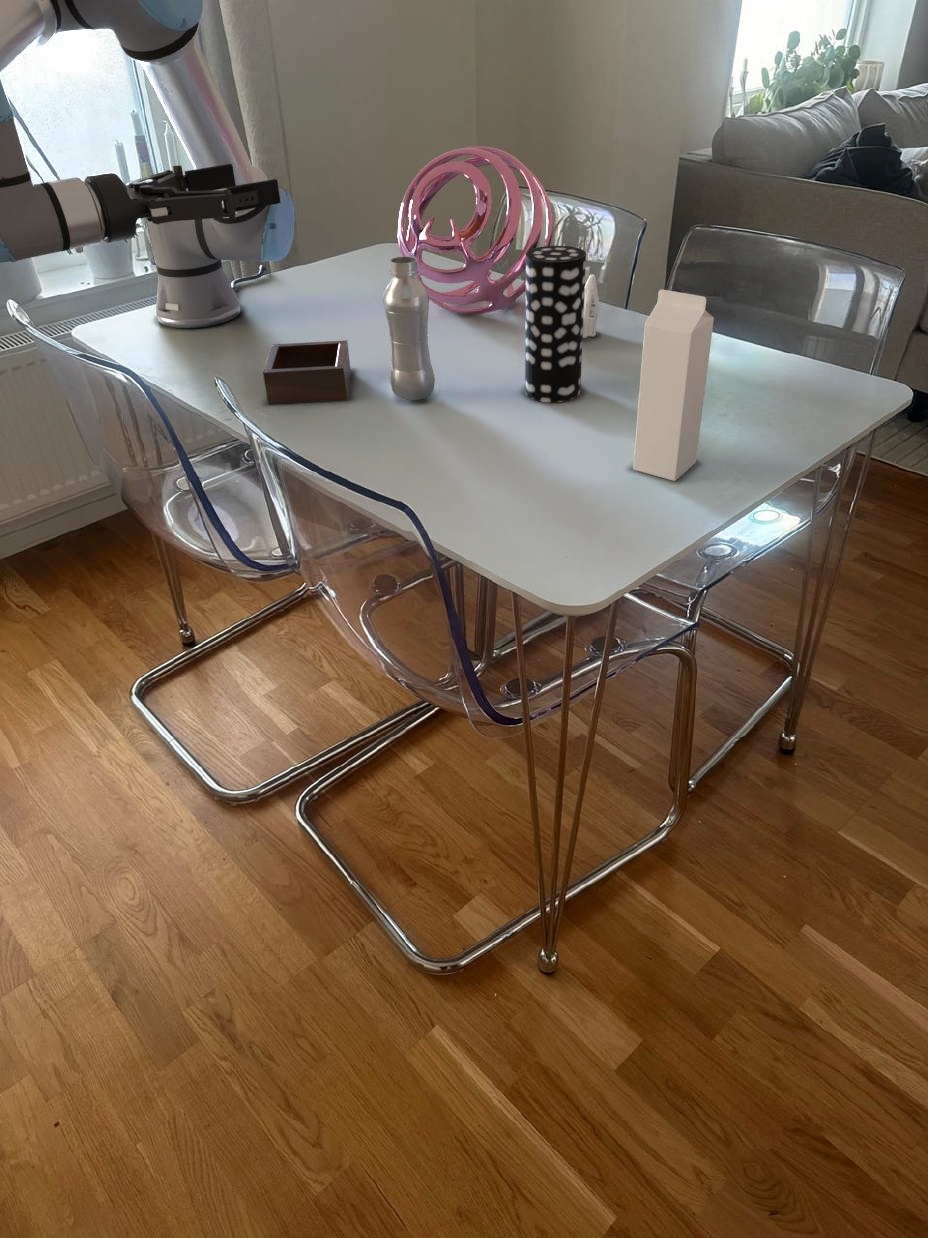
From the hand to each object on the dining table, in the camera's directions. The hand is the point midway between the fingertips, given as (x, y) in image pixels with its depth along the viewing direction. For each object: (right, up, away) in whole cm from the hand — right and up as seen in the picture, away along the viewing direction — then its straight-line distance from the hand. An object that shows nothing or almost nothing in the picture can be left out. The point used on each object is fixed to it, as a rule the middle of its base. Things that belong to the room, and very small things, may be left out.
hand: (254, 182), depth 120 cm
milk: (+53, -38, -2) cm, 65 cm away
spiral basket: (+29, +1, +51) cm, 59 cm away
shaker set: (+46, -10, +35) cm, 59 cm away
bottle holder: (+4, -21, +23) cm, 31 cm away
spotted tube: (+41, -23, +18) cm, 50 cm away
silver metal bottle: (+20, -24, +19) cm, 36 cm away
